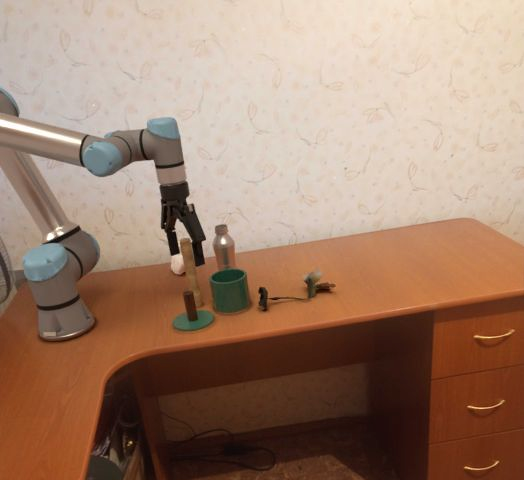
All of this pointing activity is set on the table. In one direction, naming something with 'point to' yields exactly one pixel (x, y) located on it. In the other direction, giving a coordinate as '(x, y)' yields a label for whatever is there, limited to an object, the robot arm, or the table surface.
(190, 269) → the stick
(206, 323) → the lid
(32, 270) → the robot arm
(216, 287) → the pot
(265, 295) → the artificial flower
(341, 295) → the table surface
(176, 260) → the bust
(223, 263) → the plastic bottle
